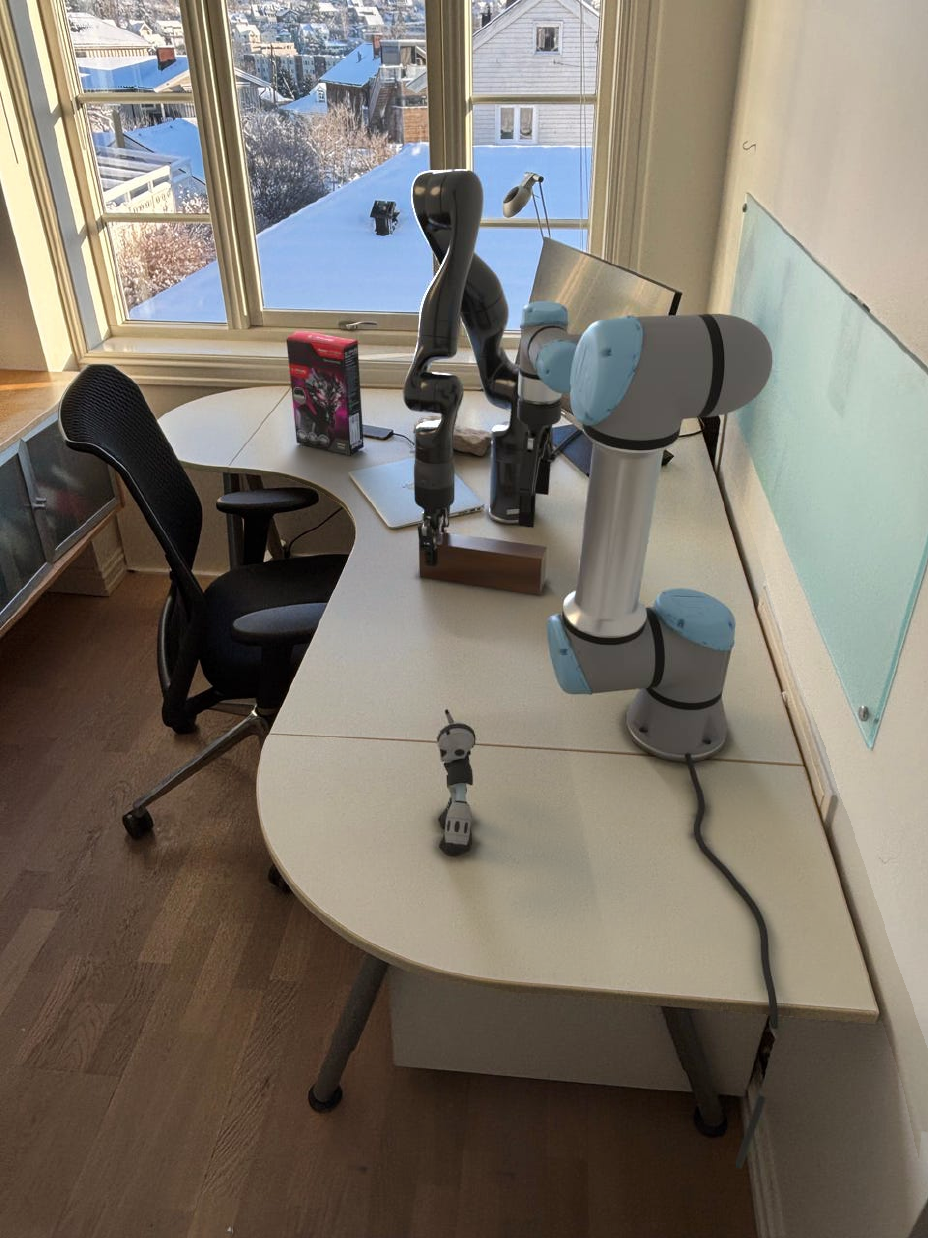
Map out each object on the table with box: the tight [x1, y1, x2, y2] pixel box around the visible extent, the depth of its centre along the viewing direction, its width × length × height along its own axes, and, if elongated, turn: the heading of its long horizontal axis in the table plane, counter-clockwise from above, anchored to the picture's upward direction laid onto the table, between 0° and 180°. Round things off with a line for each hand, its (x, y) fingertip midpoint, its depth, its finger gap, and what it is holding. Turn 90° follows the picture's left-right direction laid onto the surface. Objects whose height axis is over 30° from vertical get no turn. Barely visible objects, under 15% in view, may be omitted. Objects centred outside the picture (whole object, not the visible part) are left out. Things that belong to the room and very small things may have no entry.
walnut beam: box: [418, 531, 548, 596], centre depth 178 cm, size 5×24×8 cm, turn 75°
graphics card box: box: [285, 330, 365, 456], centre depth 225 cm, size 17×7×27 cm, turn 62°
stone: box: [412, 415, 492, 457], centre depth 232 cm, size 21×15×6 cm
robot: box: [436, 708, 477, 857], centre depth 119 cm, size 20×5×20 cm, turn 3°
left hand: (435, 557), depth 180 cm, fingers closed on walnut beam, 5 cm apart
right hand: (533, 509), depth 169 cm, fingers open, 13 cm apart
